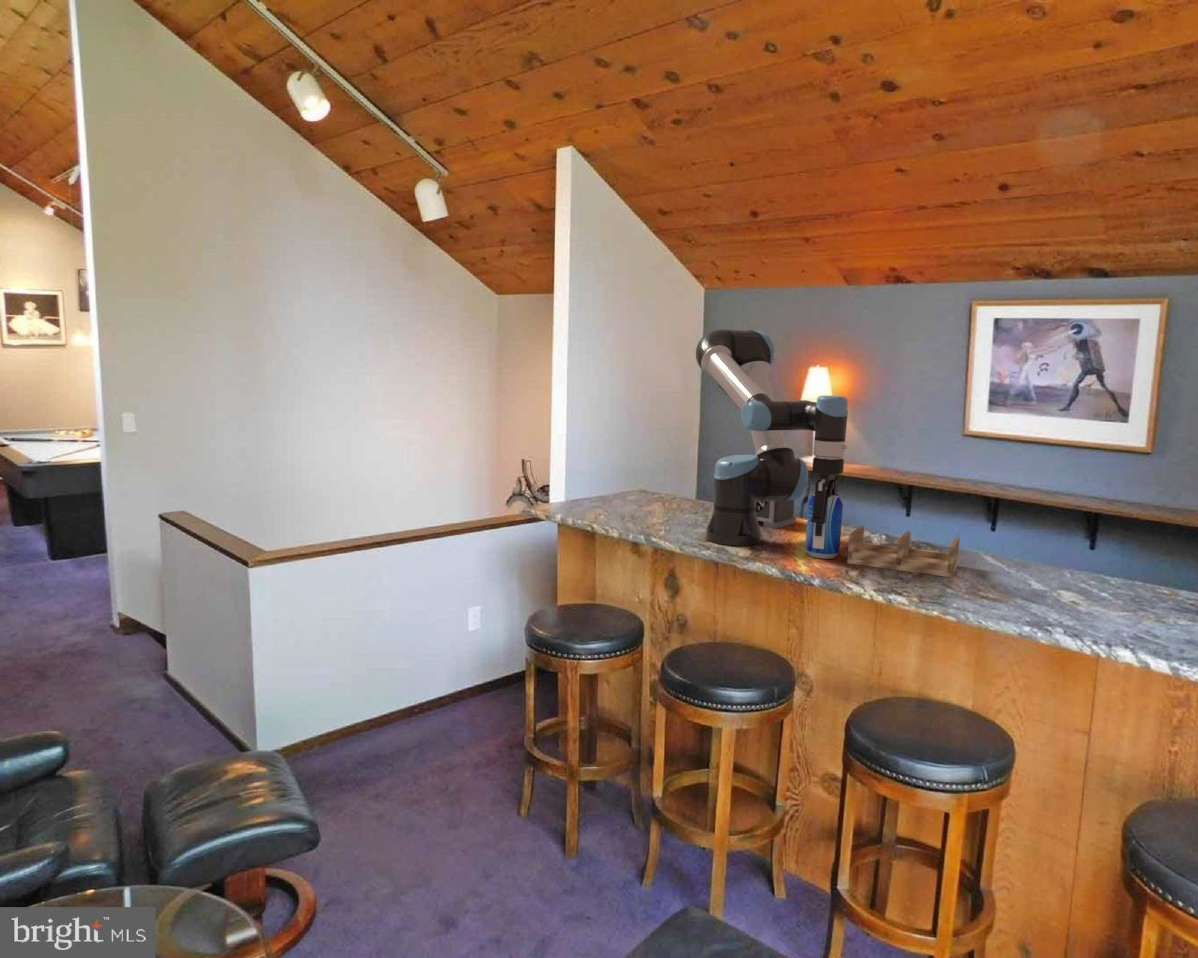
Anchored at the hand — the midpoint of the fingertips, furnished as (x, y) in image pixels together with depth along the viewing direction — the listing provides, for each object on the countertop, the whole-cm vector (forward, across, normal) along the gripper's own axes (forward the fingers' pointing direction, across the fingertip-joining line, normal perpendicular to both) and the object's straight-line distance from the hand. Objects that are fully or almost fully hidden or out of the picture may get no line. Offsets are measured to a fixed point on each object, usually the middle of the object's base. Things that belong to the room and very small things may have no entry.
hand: (822, 544), depth 206 cm
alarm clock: (+4, +35, +28) cm, 45 cm away
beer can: (+3, 0, 0) cm, 3 cm away
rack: (+3, +3, -19) cm, 20 cm away
